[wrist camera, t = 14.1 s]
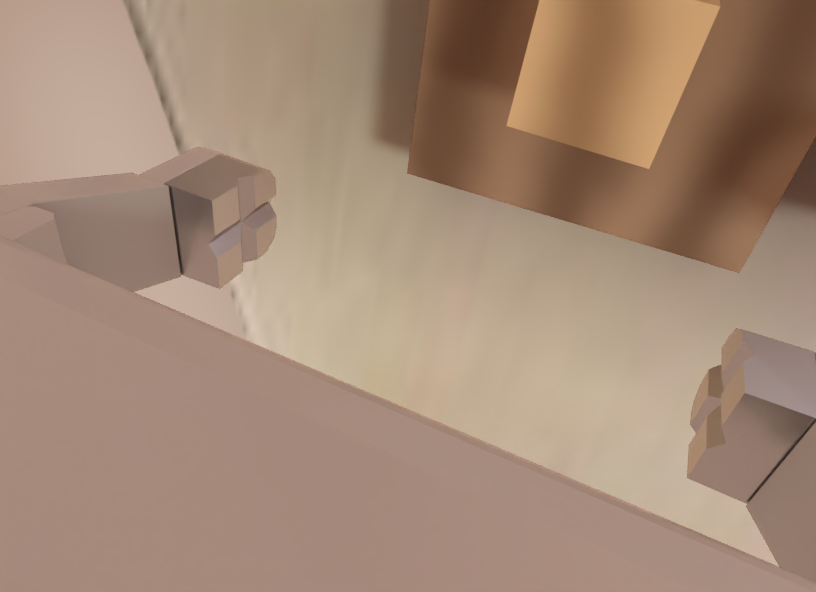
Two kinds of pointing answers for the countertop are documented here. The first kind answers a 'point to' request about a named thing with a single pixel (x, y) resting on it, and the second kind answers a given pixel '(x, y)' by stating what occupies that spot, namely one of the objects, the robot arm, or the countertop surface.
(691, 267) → the countertop surface
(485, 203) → the countertop surface
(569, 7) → the oak block
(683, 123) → the walnut block
